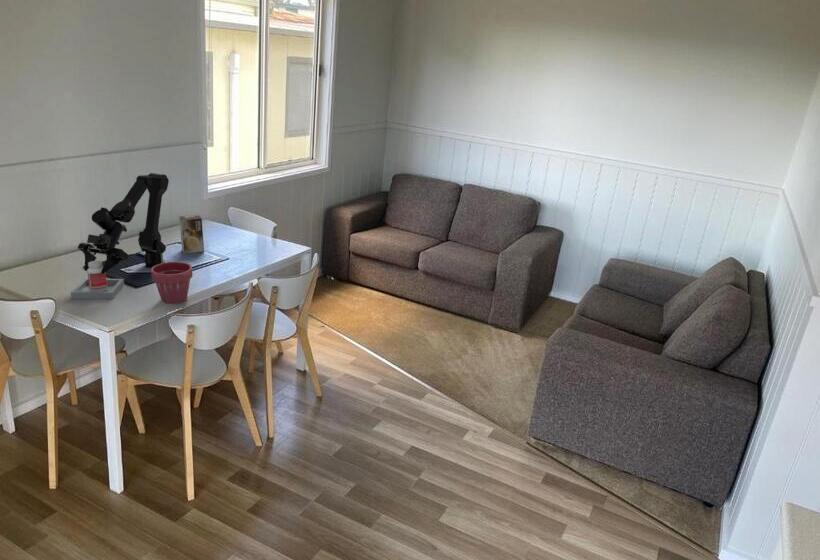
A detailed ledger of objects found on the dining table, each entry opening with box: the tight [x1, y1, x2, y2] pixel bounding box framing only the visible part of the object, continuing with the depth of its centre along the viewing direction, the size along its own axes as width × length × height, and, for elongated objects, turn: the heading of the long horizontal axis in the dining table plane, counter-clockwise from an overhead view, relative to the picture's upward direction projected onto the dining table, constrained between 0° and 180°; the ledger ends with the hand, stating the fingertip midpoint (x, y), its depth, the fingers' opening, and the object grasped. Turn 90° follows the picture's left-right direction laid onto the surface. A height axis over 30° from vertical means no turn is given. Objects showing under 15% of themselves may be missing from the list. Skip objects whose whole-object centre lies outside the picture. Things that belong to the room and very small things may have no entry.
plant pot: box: [150, 261, 193, 305], centre depth 231 cm, size 14×14×13 cm
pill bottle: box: [86, 260, 108, 292], centre depth 234 cm, size 6×6×11 cm
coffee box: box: [178, 215, 205, 255], centre depth 284 cm, size 9×6×16 cm
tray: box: [70, 278, 125, 300], centre depth 236 cm, size 14×14×2 cm
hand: (93, 271), depth 232 cm, fingers open, 7 cm apart
